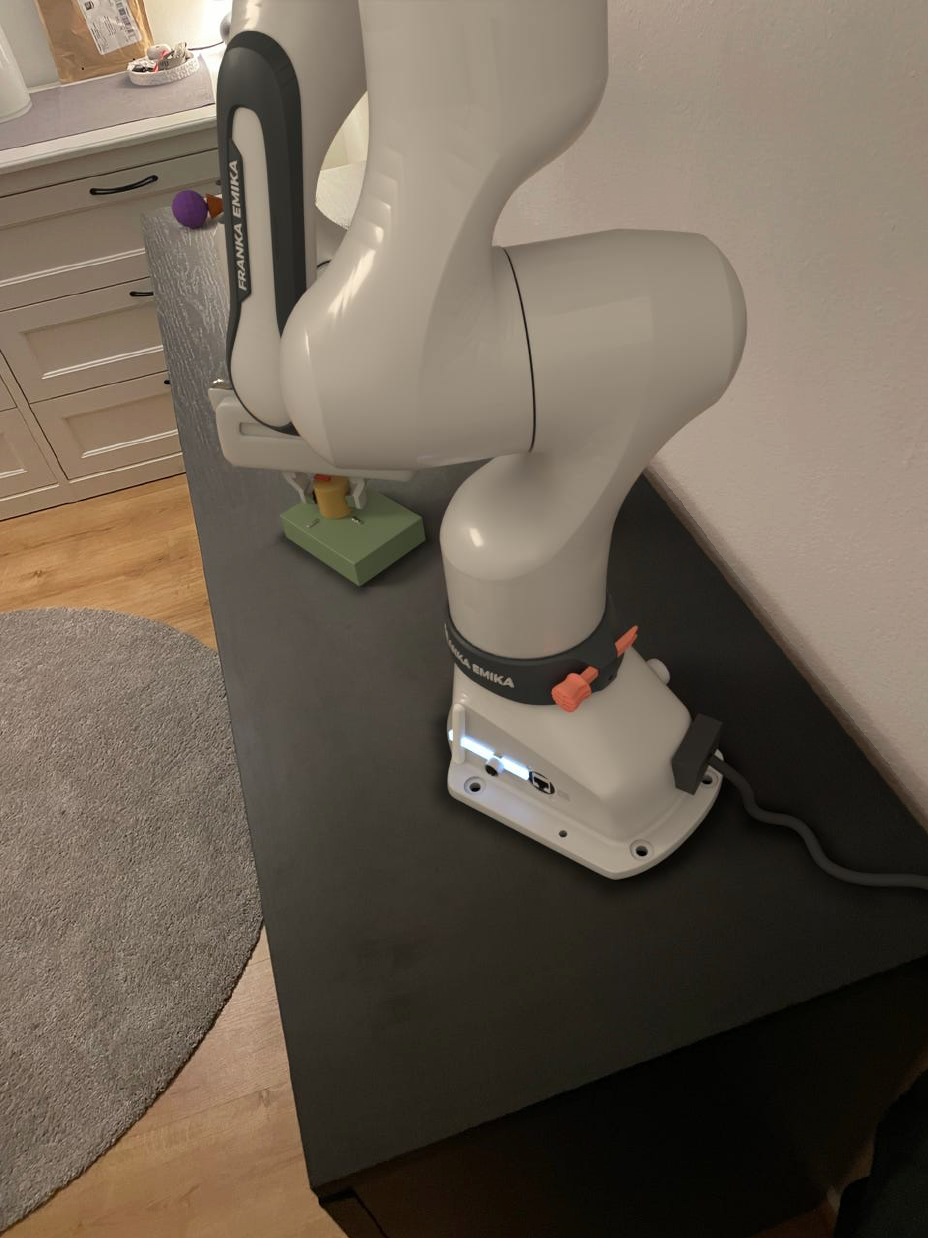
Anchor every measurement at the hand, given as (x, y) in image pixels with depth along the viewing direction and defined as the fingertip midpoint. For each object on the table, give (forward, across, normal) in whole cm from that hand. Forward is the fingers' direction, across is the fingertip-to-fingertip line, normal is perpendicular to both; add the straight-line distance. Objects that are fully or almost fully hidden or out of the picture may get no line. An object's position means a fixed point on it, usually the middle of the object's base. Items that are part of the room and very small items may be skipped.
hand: (335, 502), depth 90 cm
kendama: (+4, -51, +79) cm, 94 cm away
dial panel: (+4, +2, -1) cm, 4 cm away
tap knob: (+1, 0, 0) cm, 1 cm away
